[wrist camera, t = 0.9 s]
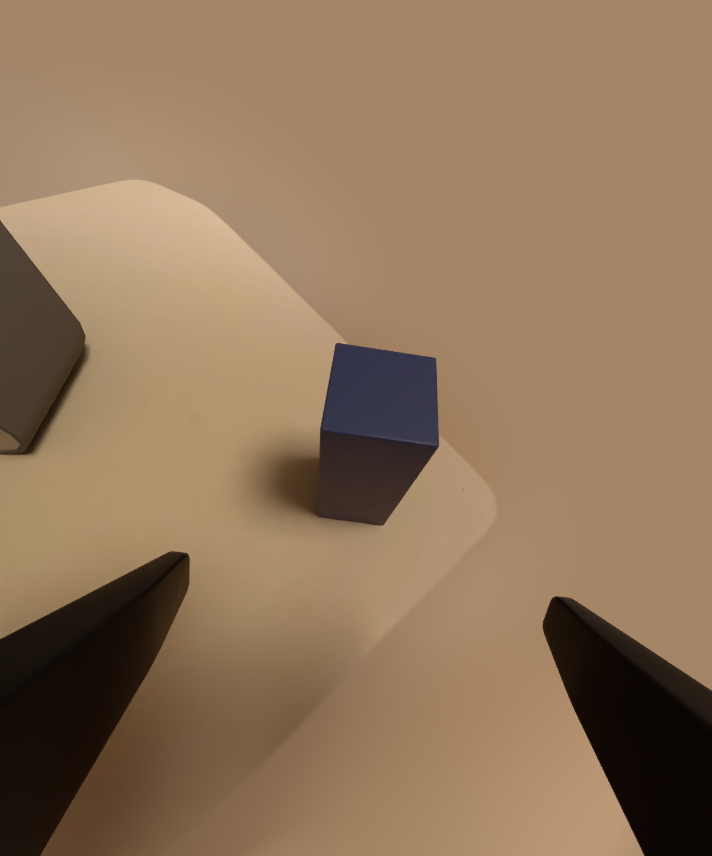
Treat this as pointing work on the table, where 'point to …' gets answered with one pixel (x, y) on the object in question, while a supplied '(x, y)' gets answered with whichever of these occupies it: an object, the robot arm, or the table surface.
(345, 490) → the navy block
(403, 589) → the table surface
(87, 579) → the table surface
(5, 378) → the alarm clock
